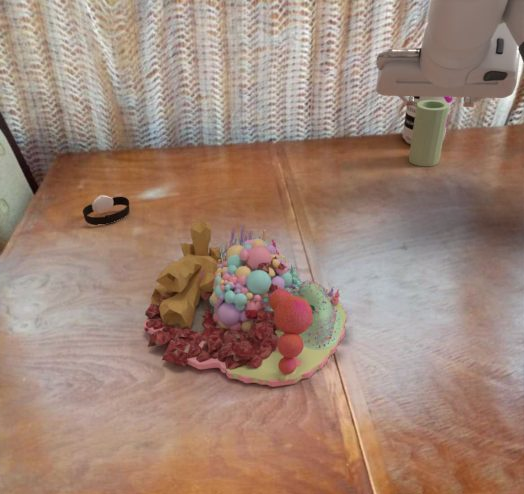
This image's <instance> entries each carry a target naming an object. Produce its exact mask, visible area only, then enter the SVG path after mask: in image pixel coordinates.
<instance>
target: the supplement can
mask: <svg viewBox="0 0 524 494" xmlns="http://www.w3.org/2000/svg"><path fill="white" fill-rule="evenodd" d="M423 100H440V101H444V102H447V103H448V104H449V106H450V107H449V112H448V117H447V123H446V128H445V134H444V139H443V141H444V140H445V139H446V133H447V129H448V125H449V124H448V123H449V118H450V112H451V107H452V101H453V97H428V96H414V101H413V106H406V109H405V115H404V121H403V130H402V138H403V140H404V141H405V142H406V143H407V144H408V145H411V140H412V134H413V127H414V120H415V113H416V107H417V103H418V102H420V101H423Z"/></svg>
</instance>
